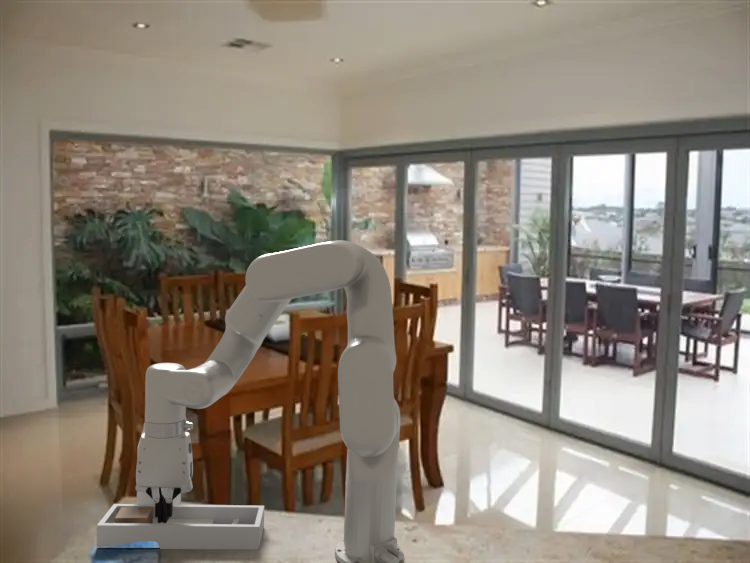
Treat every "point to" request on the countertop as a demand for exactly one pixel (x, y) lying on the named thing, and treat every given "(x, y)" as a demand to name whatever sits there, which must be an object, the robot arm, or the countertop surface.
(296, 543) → the countertop surface
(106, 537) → the box
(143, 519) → the block
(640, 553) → the countertop surface
